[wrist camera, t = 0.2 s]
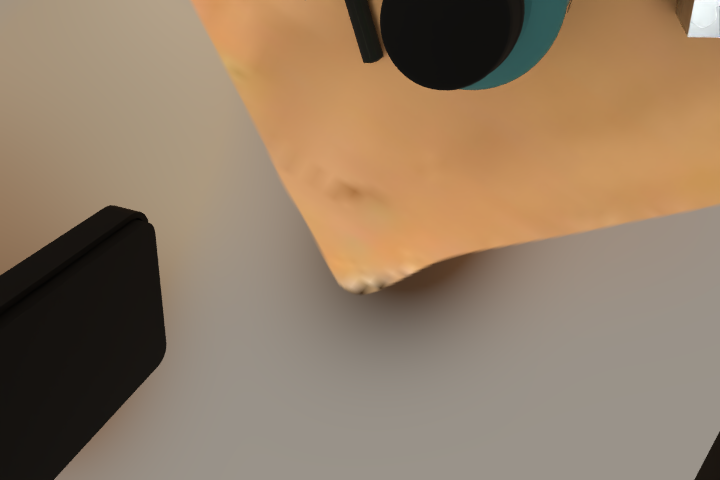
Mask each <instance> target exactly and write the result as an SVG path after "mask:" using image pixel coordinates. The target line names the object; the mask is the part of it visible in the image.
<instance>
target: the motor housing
mask: <svg viewBox="0 0 720 480" xmlns="http://www.w3.org/2000/svg"><path fill="white" fill-rule="evenodd" d="M676 15H677V17H678V19H679V21H680V23H681V25H682V27H683V29H684V31H685V33H686V35H687V37H720V0H678V3H677V9H676Z"/></svg>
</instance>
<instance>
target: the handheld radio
mask: <svg viewBox="0 0 720 480" xmlns="http://www.w3.org/2000/svg"><path fill="white" fill-rule="evenodd" d="M345 3H346V6H347V9H348V13H349V16H350V19H351V23H352V26H353V29H354V33H355V36H356V39H357V43H358V46H359V49H360V52H361V56H362V59H363V62H364V63H373V62H376V61H378V60H379V59H381V58H382V57H383V52H382V49H381V46H380V42H379V39H378V35H377V32H376V28H375V25H374V21H373V18H372V15H371V11H370V8H369V4H368V1H367V0H345Z"/></svg>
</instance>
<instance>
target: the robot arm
mask: <svg viewBox="0 0 720 480" xmlns="http://www.w3.org/2000/svg"><path fill="white" fill-rule="evenodd" d="M165 351H166V336H165V326H164V316H163V306H162V296H161V286H160V276H159V266H158V256H157V246H156V236H155V230H154V227H153V225H152V224H150V223H148V219H147V217H146V216H145V214H143V213H142V212H138V211H134V210H130V209H126V208H122V207H118V206H111V205H110V206H107V207H105V208H104V209H102V210H100V211H99V212H97V213H96V214H94V215H93V216H91V217H90V218H88V219H86V220H85V221H83V222H82V223H80V224H79V225H77V226H76V227H74V228H72V229H71V230H70V231H68V232H67V233H65V234H64V235H62V236H60V237H59V238H57V239H56V240H54V241H53V242H51V243H49V244H48V245H46V246H45V247H43V248H42V249H40V250H39V251H37V252H36V253H34V254H33V255H31V256H30V257H28V258H26V259H25V260H23V261H22V262H20V263H19V264H17V265H16V266H14V267H13V268H11V269H10V270H8V271H6V272H5V273H3V274H2V275H0V480H54V479H55V478H56V477H57V476H58V474H59V473H60V472H61V471H62V470H63V469H64V468H65V467H66V465H68V464H69V462H70V461H71V460H72V459H73V458H74V457H75V456H76V455H77V454H78V452H80V450H81V449H82V448H83V447H84V446H85V445H86V444H87V443H88V442H89V441H90V440H91V438H92V437H93V436H94V435H95V434H96V433H97V432H98V431H99V430H100V429H101V428H102V427H103V425H104V424H105V423H106V422H107V421H108V420H109V419H110V418H111V417H112V416H113V415H114V413H115V412H116V411H117V410H118V409H119V408H120V407H121V406H122V405H123V404H124V402H125V401H126V400H127V399H128V398H129V397H130V396H131V395H132V394H133V393H134V392H135V391H136V390H137V388H138V387H139V386H140V385H141V384H142V383H143V382H144V381H145V380H146V379H147V377H149V375H150V374H151V373H152V372H153V371H154V370H155V369H156V368H157V367H158V366H159V364H160V363H161V361H162V359H163V357H164V354H165ZM695 480H720V432H719V434H718V436H717V438H716V440H715V441H714V443H713V445H712V447H711V449H710V451H709V453H708V455H707V457H706V459H705V461H704V463H703V464H702V466H701V468H700V470H699V472H698V474H697V476H696V478H695Z"/></svg>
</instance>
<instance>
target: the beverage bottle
mask: <svg viewBox="0 0 720 480" xmlns="http://www.w3.org/2000/svg"><path fill="white" fill-rule="evenodd" d="M569 1H570V0H383V2H382V6H381V14H380V27H381V35H382V39H383V43H384V46H385V49H386V51H387V53H388V55H389V57H390V59H391V60H392V62H393V63H394V65H395V66H396V67H397V68H398V69H399V70H400V71H401V72H402V73H403V74H404V75H405V76H406V77H407V78H409V79H410V80H412V81H413V82H415V83H417V84H419V85H421V86H423V87H427V88H430V89H436V90H456V89H463V90H481V89H488V88H493V87H497V86H500V85H503V84H506V83H508V82H511V81H513V80H515V79H517V78H518V77H520V76H521V75H523V74H525V73H526V72H527V71H529V70H530V69H531V68H532V67H534V66H535V65H536V64H537V63H538V62H539V61H540V60H541V59H542V58H543V56H544V55H545V54H546V53H547V51H548V50H549V49H550V47H551V46H552V44H553V42H554V40H555V39H556V37H557V35H558V33H559V30H560V28H561V26H562V23H563V20H564V17H565V13H566V8H567V6H568V4H569ZM571 1H572V0H571ZM570 4H571V3H570ZM569 7H570V5H569ZM570 8H571V7H570ZM568 10H569V8H568ZM567 13H568V11H567Z"/></svg>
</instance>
